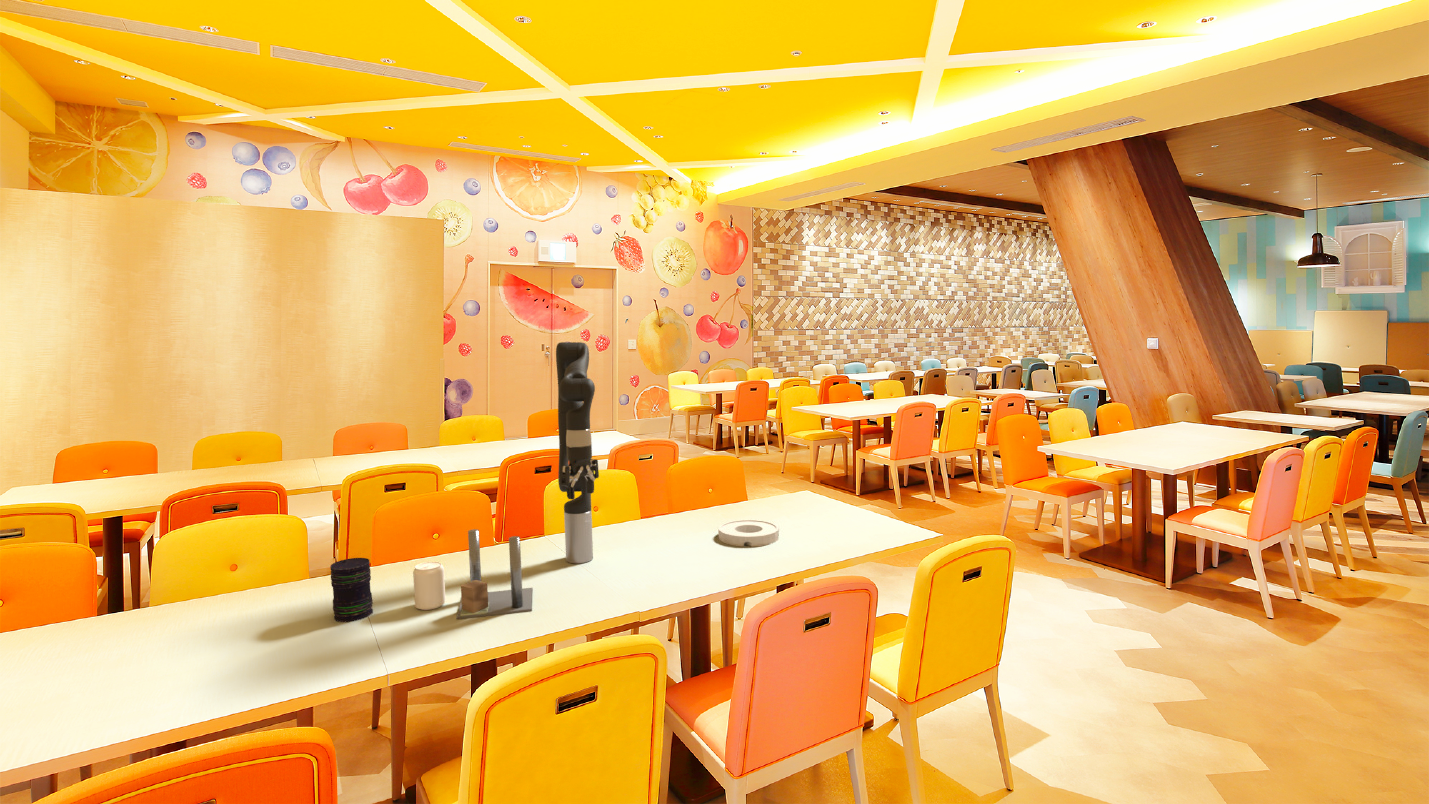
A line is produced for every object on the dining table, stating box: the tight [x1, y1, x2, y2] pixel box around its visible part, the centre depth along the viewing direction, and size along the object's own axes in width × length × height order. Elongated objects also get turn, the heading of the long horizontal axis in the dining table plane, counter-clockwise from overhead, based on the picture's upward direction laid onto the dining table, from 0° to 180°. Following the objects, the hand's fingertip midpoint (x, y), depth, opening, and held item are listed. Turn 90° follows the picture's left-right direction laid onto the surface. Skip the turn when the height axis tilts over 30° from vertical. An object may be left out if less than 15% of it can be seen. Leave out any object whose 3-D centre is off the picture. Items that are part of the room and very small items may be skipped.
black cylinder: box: [329, 557, 374, 623], centre depth 189 cm, size 10×10×15 cm
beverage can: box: [412, 560, 446, 611], centre depth 195 cm, size 8×8×12 cm
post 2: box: [508, 535, 523, 608], centre depth 192 cm, size 3×3×20 cm
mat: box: [456, 587, 534, 620], centre depth 197 cm, size 17×20×1 cm
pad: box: [461, 607, 488, 614], centre depth 191 cm, size 7×7×1 cm
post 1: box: [467, 529, 482, 582], centre depth 199 cm, size 3×3×20 cm
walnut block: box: [460, 580, 489, 613], centre depth 191 cm, size 5×5×7 cm
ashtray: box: [717, 519, 780, 547], centre depth 258 cm, size 23×23×4 cm
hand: (580, 496), depth 208 cm, fingers open, 8 cm apart
